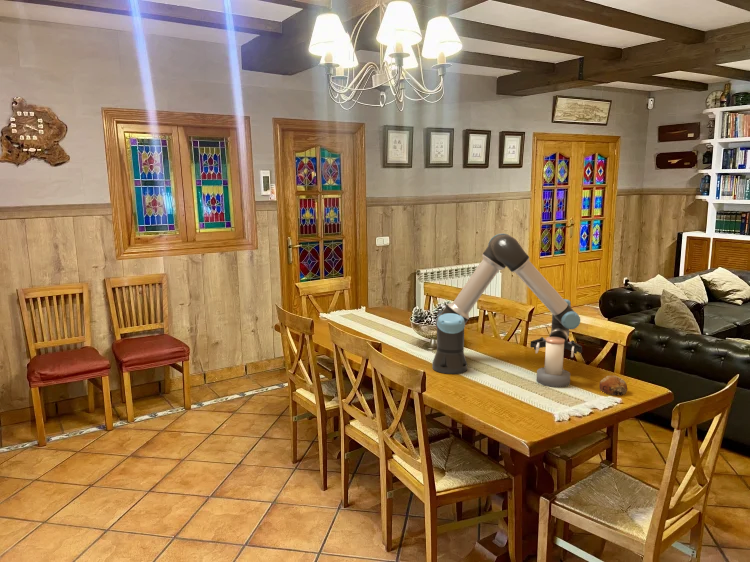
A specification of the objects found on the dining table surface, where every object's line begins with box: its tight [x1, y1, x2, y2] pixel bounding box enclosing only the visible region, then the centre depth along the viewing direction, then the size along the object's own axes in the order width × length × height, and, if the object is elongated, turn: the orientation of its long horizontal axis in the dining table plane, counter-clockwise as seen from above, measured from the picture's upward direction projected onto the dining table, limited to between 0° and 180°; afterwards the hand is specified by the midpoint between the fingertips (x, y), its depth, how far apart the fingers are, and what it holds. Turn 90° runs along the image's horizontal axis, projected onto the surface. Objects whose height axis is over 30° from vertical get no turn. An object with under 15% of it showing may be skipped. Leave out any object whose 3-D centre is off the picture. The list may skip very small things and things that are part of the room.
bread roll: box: [599, 375, 628, 396], centre depth 215 cm, size 10×10×8 cm
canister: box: [544, 336, 565, 375], centre depth 224 cm, size 7×7×14 cm
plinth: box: [536, 367, 571, 388], centre depth 225 cm, size 13×13×4 cm
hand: (554, 351), depth 221 cm, fingers open, 13 cm apart
